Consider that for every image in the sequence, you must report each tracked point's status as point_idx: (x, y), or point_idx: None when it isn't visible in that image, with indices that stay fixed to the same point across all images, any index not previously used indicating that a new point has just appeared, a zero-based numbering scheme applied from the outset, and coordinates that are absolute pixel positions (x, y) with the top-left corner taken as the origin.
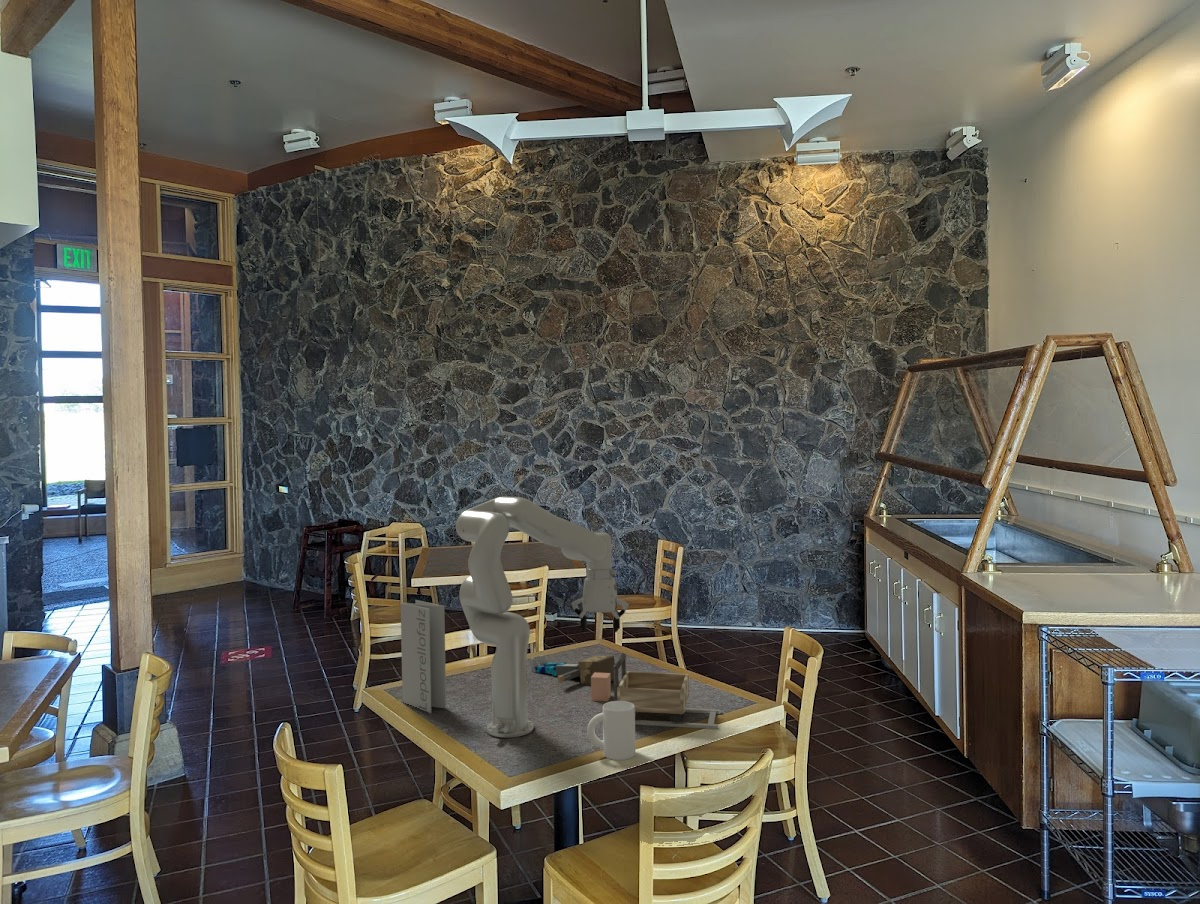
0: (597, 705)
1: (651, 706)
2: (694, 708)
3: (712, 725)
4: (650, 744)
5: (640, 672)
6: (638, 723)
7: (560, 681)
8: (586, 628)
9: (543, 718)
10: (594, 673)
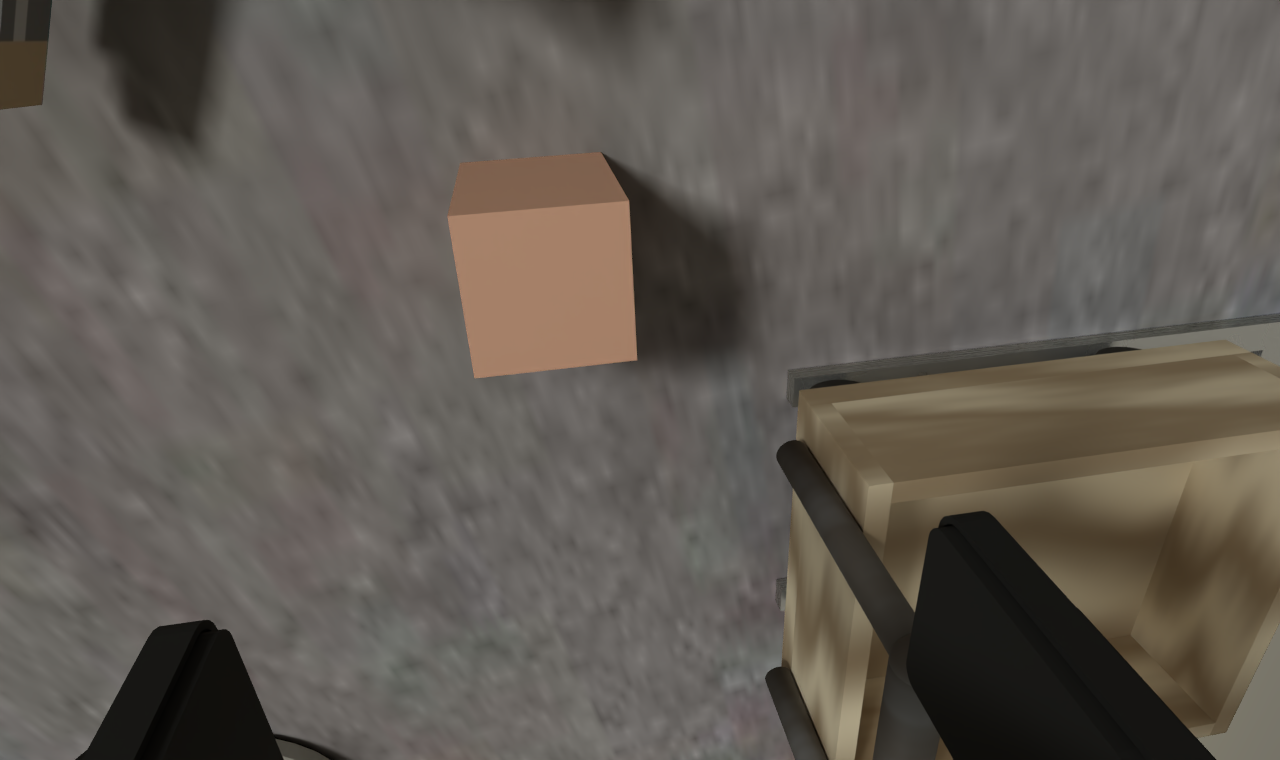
0: (562, 382)
1: None
2: (1188, 337)
3: None
4: None
5: (990, 484)
6: None
7: (28, 105)
8: (231, 666)
9: (320, 655)
10: (463, 252)
